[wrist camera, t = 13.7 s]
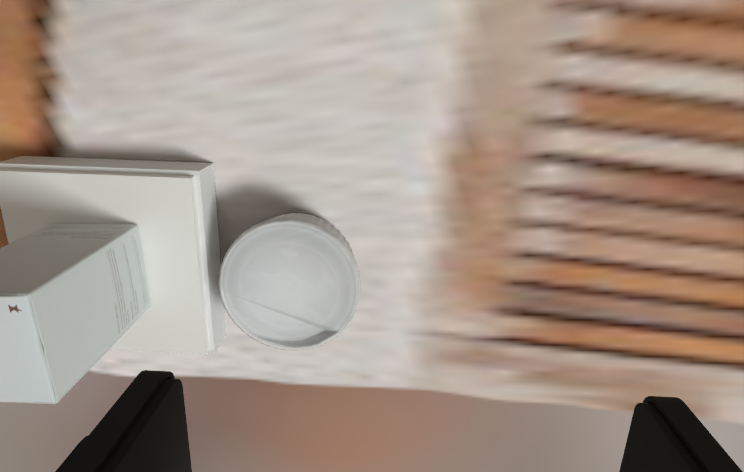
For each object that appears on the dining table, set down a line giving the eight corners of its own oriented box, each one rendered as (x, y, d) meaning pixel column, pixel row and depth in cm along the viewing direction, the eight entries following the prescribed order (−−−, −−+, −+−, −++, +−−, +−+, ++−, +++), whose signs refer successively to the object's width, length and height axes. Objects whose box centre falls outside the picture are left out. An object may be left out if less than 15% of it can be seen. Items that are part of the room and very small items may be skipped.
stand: (22, 155, 42) (-14, 165, 39) (213, 162, 42) (195, 173, 38) (56, 326, 48) (26, 349, 44) (226, 334, 47) (211, 358, 43)
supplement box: (47, 221, 40) (-101, 290, 28) (140, 222, 40) (31, 293, 28) (65, 306, 42) (-64, 403, 30) (153, 308, 42) (58, 407, 30)
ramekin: (257, 329, 47) (240, 361, 42) (220, 215, 43) (198, 235, 38) (376, 309, 46) (373, 340, 41) (348, 190, 42) (342, 207, 37)
